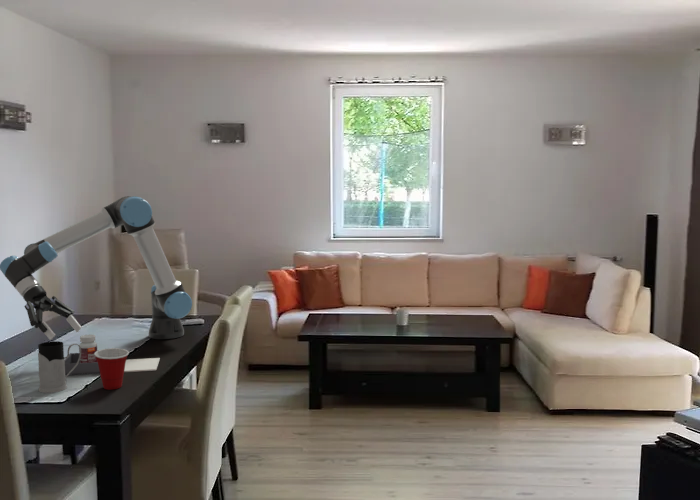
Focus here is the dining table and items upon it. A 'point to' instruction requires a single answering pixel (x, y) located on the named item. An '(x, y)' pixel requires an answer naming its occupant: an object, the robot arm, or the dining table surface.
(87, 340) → the pill bottle
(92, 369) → the mailer box
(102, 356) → the plastic cup
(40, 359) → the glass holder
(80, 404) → the dining table surface
